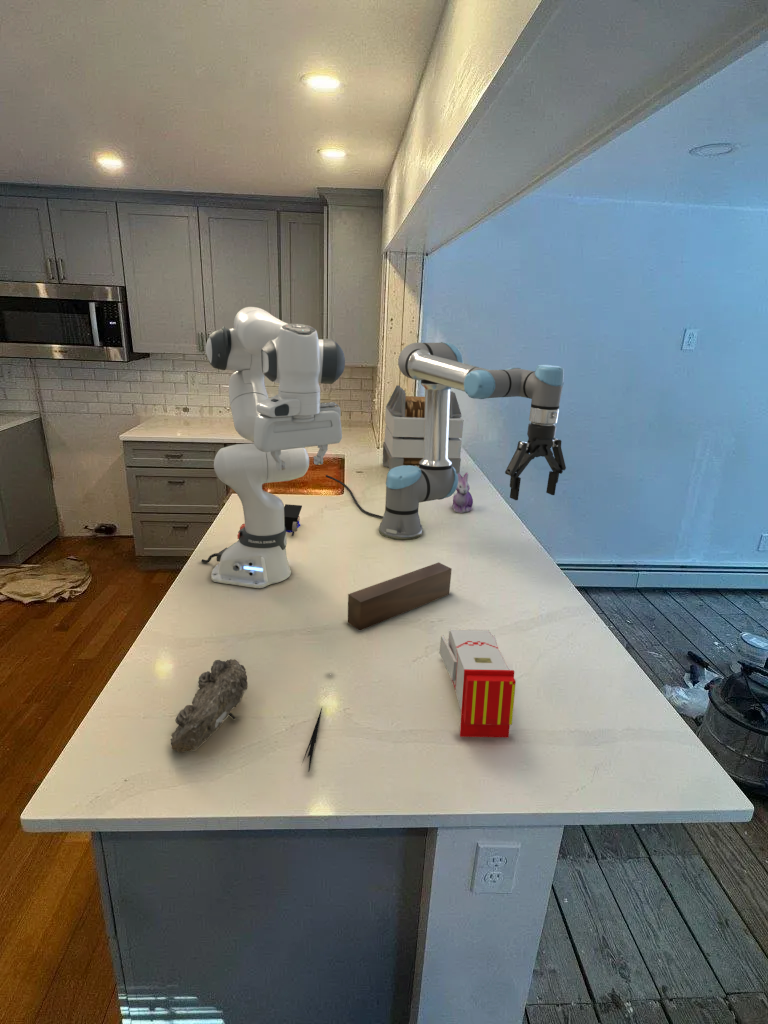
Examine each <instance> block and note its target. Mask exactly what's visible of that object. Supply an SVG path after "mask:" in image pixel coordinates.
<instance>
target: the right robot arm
mask: <svg viewBox="0 0 768 1024" xmlns="http://www.w3.org/2000/svg"><path fill="white" fill-rule="evenodd" d="M397 365H398V368H399V371H400V372H401V374H402V375H403V376H404V377H406V378H408V379H411V380H415V381H420V384H421V386H422V387H423V388H424V397H425V417H424V457H423V459H422V460H421V461H420V462H419V466H413V465H408V466H406V465H403V466H398V467H394V468H392V469H391V470H390V471H389V470H388V472H387V475H386V479H385V504H384V505H385V507H384V508H385V509H384V513H383V515H380V514H376V513H372V512H369V511H367V510H365V509H364V508H363V507H362V506H361V505H360V504H359V502H358V500H357V499H356V497H355V496H354V493H353V491H352V490H351V489H350V488H349V486H348V485H347V484H345V483H344V482H342V481H341V480H339V479H338V478H335V477H333V476H330V475H328V474H326V475H325V477H326V478H328V479H330V480H332V481H335V482H336V483H339V484H340V485H342V486H343V487H344V488H345V489H346V490H347V492H349V495H350V496H351V498H352V500H353V502H354V504H355V505H356V507H358V509H359V510H360V511H361V512H362V513H364V514H366V515H368V516H371V517H375V518H379V519H381V522H379V526H378V533H379V534H380V535H381V536H382V537H385V538H387V539H389V540H395V541H410V540H415V539H418V538H420V537H421V536H422V535H423V525H422V524H421V518H420V515H419V507H420V506H419V505H420V503H426V502H431V501H437V500H439V501H441V500H444V499H446V498H450V497H451V496H453V495H454V493H455V492H457V490H456V489H457V485H458V475H457V474H456V470H455V468H454V467H452V462H451V461H450V460H449V459H448V438H449V411H450V391H451V389H454V390H458V391H462V392H465V394H466V395H467V396H468V397H469V398H471V399H474V400H475V399H477V400H484V399H485V400H487V399H496V398H498V399H499V398H515V397H520V398H526V399H531V404H530V410H529V418H528V421H529V423H528V426H527V433H526V434H527V435H526V436H527V438H528V439H527V441H522V440H518V442H517V446H516V449H515V451H514V454H513V455H512V457H511V459H510V461H509V463H508V465H507V467H506V468H505V471H504V474H505V475H507V476H509V477H510V479H509V488H510V491H509V498H510V499H512V500H514V501H518V500H519V496H520V487H521V477H520V475H522V473H523V472H524V470H525V469H526V468H527V467H528V465H529V464H530V463H531V461H532V460H534V459H535V458H539V457H542V458H545V460H546V462H547V464H548V466H549V467H550V469H551V470H550V471H549V472H548V473H549V474H548V478H547V485H546V491H545V493H546V494H548V495H551V496H555V495H556V488H557V484H558V482H559V477H560V474H561V475H562V474H563V471H565V470H566V469H567V466H566V461H565V459H564V458H565V457H564V454H563V450H562V440H561V439H559V438H556V433H557V425H556V424H557V423H558V418H559V412H560V403H561V398H562V394H563V393H562V392H563V387H564V383H565V382H564V380H565V379H564V378H565V369H564V367H562V366H560V365H553V364H552V365H551V364H539V365H537V366H536V367H535V370H529V369H524V368H521V367H507V368H505V369H487V368H483V367H479V366H476V365H473V364H469V363H464V358H463V354H462V352H461V351H460V350H459V348H458V346H456V345H455V344H454V343H451V342H449V343H448V342H442V341H441V342H420V341H419V342H412V343H410V344H408V345H406V346H405V347H404V348H403V349H401V350H400V353H399V356H398V358H397Z"/></svg>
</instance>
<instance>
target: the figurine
mask: <svg viewBox="0 0 768 1024" xmlns="http://www.w3.org/2000/svg"><path fill="white" fill-rule="evenodd" d="M457 475H458V485H457V489H456V493H455V494H453V496H452V506H451V509H452V510H453V512H456V513H462V514H463V513H468V512H470V511H471V510H472V509H473V505H474V499H473V496H472V494H471V492H470V489H471V487H470V484H469V482H468V479H469V473H468V472H465V473H464V474H463V476H462V474H461V473H458V474H457Z"/></svg>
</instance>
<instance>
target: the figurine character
mask: <svg viewBox="0 0 768 1024" xmlns="http://www.w3.org/2000/svg"><path fill="white" fill-rule="evenodd" d="M302 508H303V504H301V505H300V504H287V503H286V504H284V526H285V528H286V533H291V537H293V536H295V533H297V532H298V528H300V527H301V523H300V521H301V518H300V517H301V516H300V514H301V511H302Z"/></svg>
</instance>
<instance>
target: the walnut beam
mask: <svg viewBox="0 0 768 1024" xmlns="http://www.w3.org/2000/svg"><path fill="white" fill-rule="evenodd" d="M452 571H453V569H452V568H451V567H449V566H447V565H445V564H443V563H441V562H436V563H433V564H430V565H428V566H425V567H424V566H423V567H422V568H418V569H416V570H413V571H410V572H407V573H405V574H401V575H399V576H396V577H393V578H391V579H387V580H384V581H381V582H379V583H376V584H373V585H371V586H367V587H365V588H362V589H359V590H357V591H353V592H350V593H348V594H347V623H348V624H349V625H351V626H352V627H354V628H355V629H356V630H358V631H359V632H361V631H363V630H366V629H368V628H371V627H373V626H375V625H378V624H380V623H383V622H385V621H388V620H390V619H393V618H395V617H398V616H400V615H403V614H405V613H407V612H410V611H412V610H414V609H417V608H420V607H422V606H425V605H426V604H429V603H431V602H434V601H437V600H439V599H442V598H443V597H446V596H448V595H450V591H451V590H450V589H451V580H452Z"/></svg>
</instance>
